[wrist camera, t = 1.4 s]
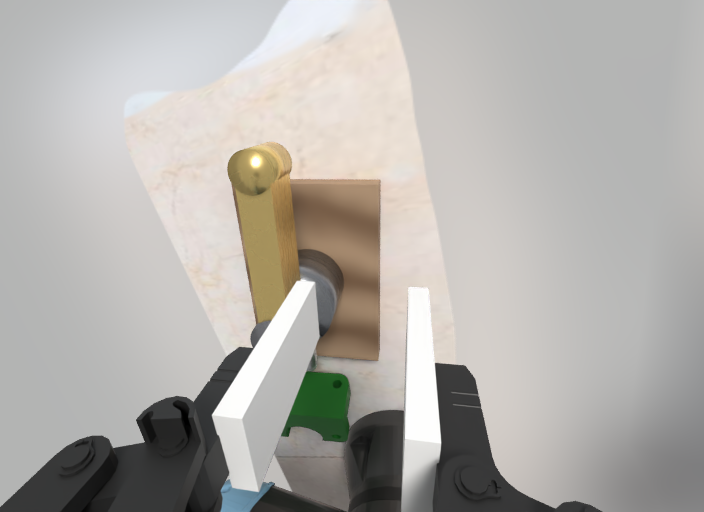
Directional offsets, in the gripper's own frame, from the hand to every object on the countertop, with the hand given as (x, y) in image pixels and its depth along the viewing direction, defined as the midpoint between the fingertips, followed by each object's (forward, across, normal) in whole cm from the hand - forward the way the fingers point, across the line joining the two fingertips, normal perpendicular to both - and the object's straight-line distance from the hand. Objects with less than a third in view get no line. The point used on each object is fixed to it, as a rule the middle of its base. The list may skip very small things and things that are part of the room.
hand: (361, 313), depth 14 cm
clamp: (+21, +10, +27) cm, 35 cm away
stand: (+21, +8, +9) cm, 24 cm away
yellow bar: (+12, +8, +3) cm, 15 cm away
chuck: (+19, +8, +12) cm, 24 cm away
